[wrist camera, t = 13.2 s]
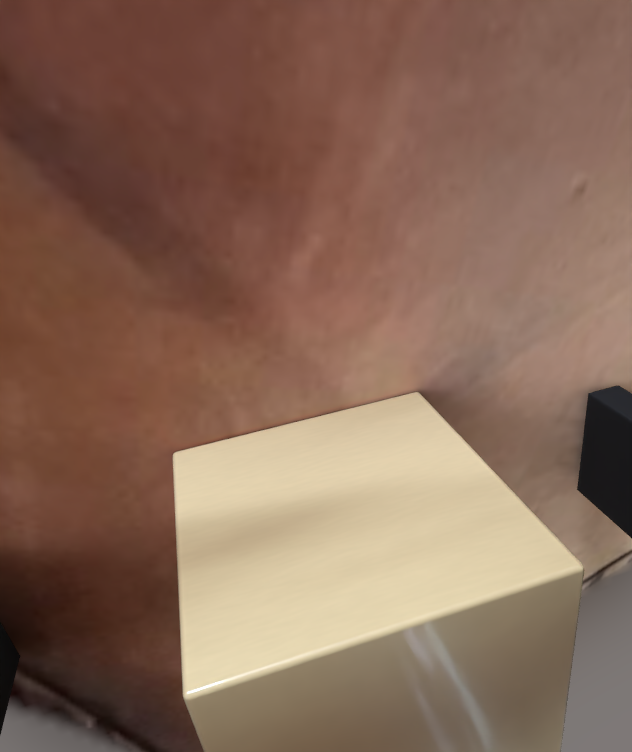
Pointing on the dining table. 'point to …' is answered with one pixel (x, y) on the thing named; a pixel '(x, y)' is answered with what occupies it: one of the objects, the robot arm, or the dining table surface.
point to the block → (368, 592)
